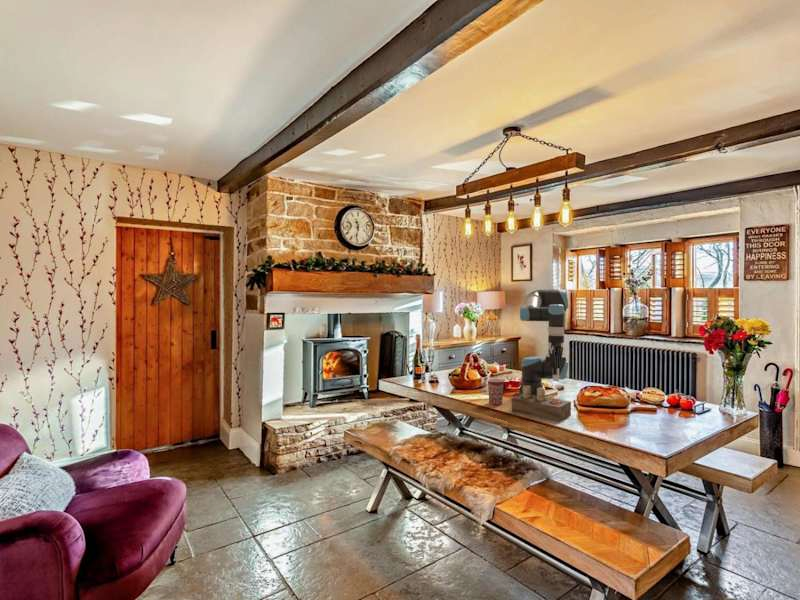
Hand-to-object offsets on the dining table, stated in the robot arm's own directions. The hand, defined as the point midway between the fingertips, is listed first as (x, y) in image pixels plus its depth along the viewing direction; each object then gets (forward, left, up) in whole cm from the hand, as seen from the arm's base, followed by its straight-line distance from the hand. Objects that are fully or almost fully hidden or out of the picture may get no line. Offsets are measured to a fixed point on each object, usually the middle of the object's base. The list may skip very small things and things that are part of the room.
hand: (555, 380), depth 226 cm
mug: (-3, -35, -18) cm, 40 cm away
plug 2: (0, 0, -17) cm, 17 cm away
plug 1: (0, -16, -14) cm, 21 cm away
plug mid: (0, -8, -14) cm, 16 cm away
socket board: (0, -8, -18) cm, 20 cm away
